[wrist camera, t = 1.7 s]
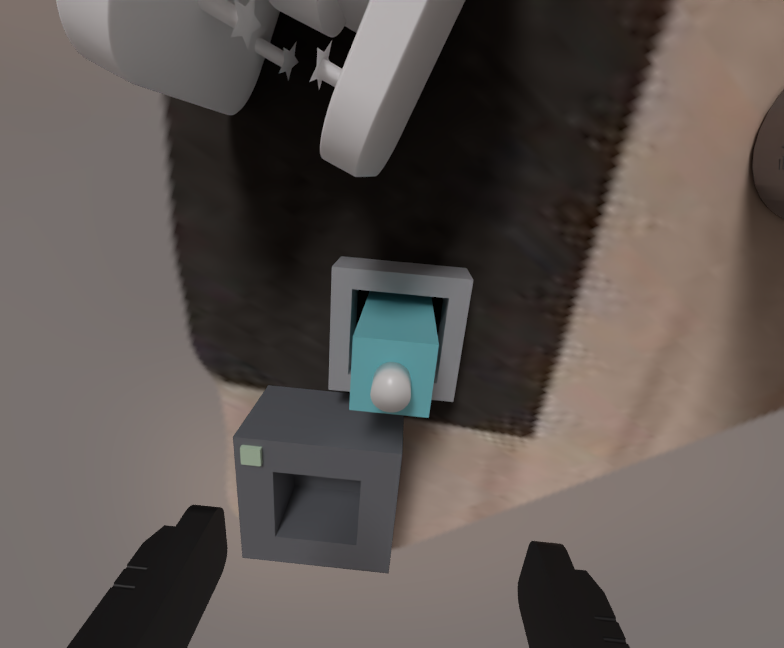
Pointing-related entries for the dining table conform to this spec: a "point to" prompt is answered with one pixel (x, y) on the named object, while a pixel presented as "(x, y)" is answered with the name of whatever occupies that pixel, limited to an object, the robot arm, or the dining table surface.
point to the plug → (394, 355)
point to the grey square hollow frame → (401, 280)
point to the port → (317, 480)
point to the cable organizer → (274, 58)
